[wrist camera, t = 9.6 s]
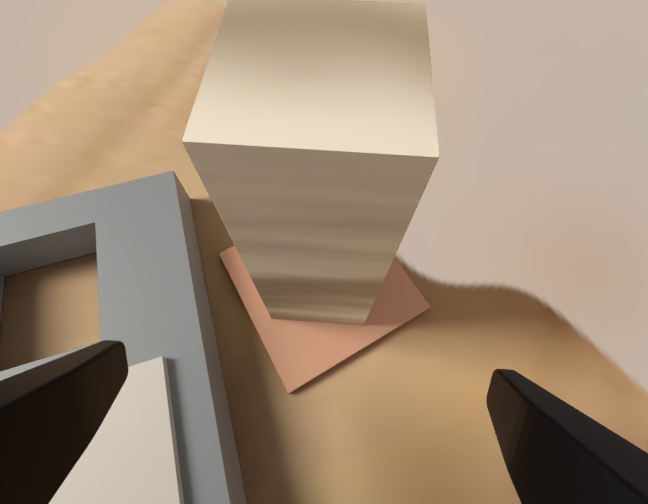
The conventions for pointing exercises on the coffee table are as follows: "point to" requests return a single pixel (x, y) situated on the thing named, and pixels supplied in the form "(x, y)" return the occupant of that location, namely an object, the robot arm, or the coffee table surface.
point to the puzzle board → (140, 342)
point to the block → (316, 146)
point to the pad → (324, 325)
